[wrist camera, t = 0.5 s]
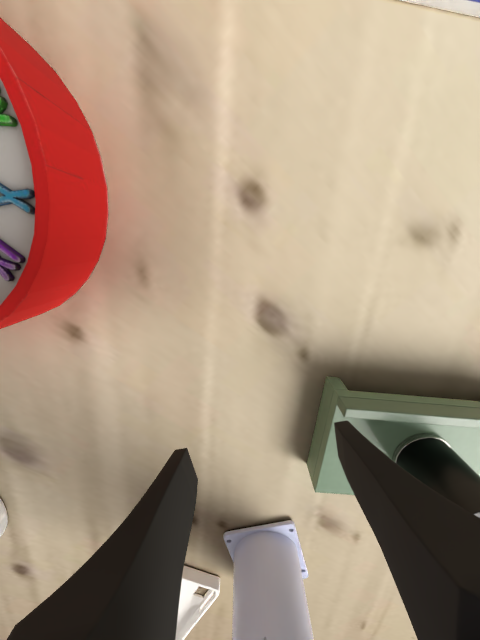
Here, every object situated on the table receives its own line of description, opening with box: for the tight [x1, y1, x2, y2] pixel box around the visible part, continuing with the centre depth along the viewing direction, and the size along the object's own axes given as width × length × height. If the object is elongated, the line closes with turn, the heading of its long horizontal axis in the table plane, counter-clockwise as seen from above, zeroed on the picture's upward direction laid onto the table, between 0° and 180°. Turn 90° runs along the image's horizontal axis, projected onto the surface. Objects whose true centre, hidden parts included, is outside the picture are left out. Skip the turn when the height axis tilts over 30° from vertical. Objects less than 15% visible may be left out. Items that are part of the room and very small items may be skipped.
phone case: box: [175, 566, 220, 640], centre depth 31 cm, size 7×1×15 cm
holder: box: [392, 433, 480, 518], centre depth 18 cm, size 5×5×6 cm
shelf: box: [307, 377, 480, 495], centre depth 22 cm, size 10×16×4 cm, turn 85°
